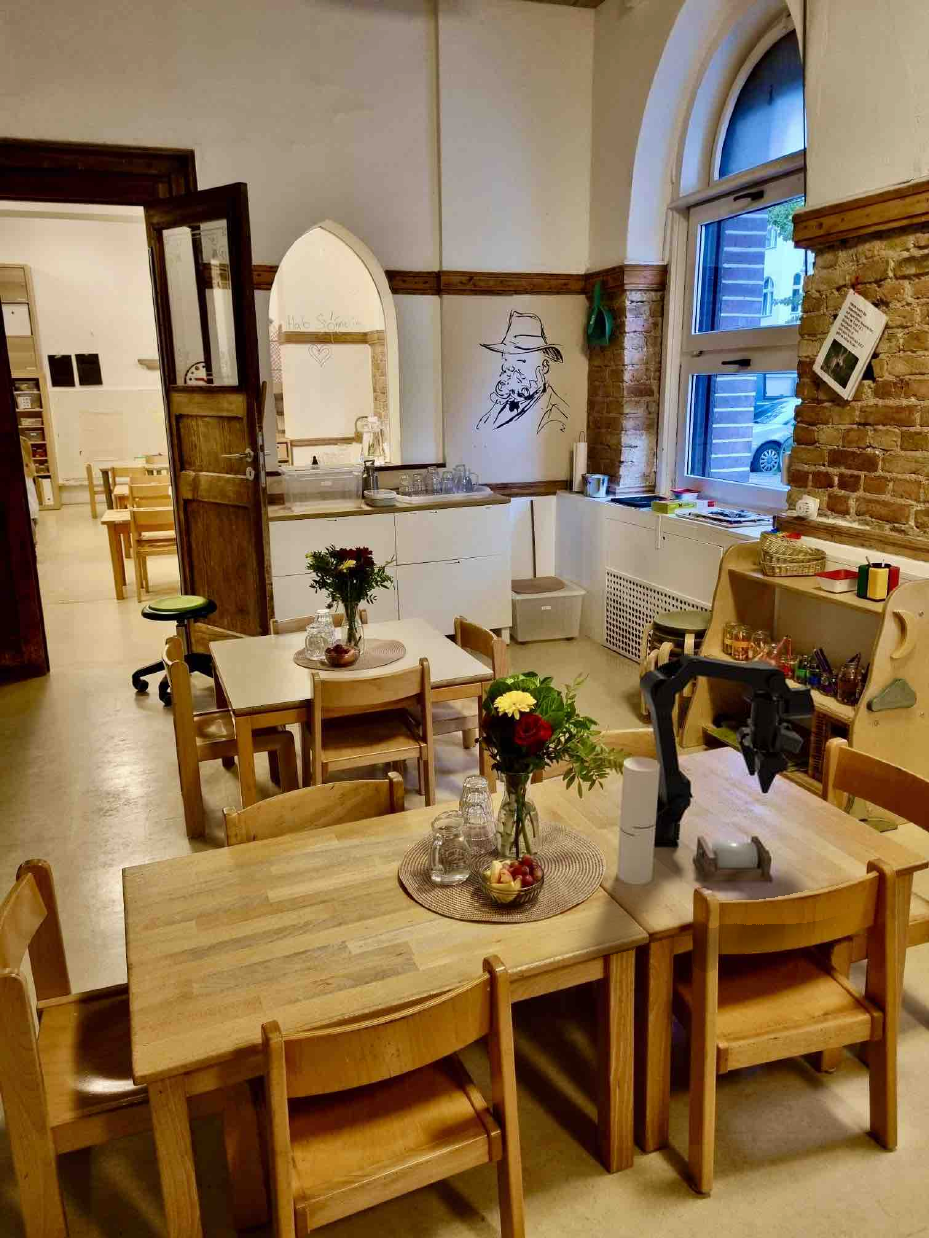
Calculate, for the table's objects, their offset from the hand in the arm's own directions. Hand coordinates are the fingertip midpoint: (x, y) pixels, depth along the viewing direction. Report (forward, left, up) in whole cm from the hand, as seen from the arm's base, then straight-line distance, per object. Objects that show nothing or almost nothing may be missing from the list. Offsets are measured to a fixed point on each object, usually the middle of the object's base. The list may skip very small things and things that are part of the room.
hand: (758, 784), depth 206 cm
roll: (-10, -16, -11) cm, 22 cm away
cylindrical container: (-31, -18, -12) cm, 38 cm away
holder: (-10, -16, -12) cm, 23 cm away
